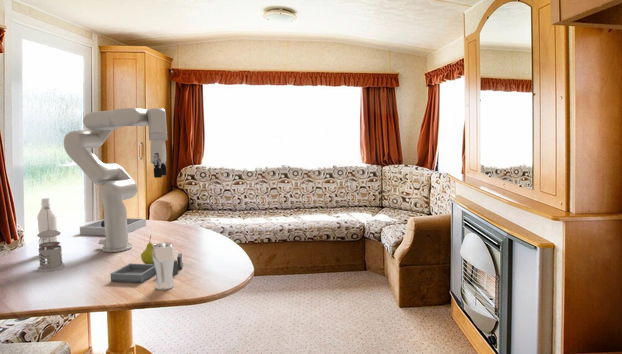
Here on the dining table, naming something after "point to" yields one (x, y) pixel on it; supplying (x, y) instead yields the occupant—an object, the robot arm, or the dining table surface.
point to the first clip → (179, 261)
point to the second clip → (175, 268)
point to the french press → (50, 251)
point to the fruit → (148, 254)
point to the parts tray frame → (97, 229)
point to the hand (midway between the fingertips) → (160, 176)
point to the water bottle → (44, 223)
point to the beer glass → (163, 265)
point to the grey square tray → (133, 273)
